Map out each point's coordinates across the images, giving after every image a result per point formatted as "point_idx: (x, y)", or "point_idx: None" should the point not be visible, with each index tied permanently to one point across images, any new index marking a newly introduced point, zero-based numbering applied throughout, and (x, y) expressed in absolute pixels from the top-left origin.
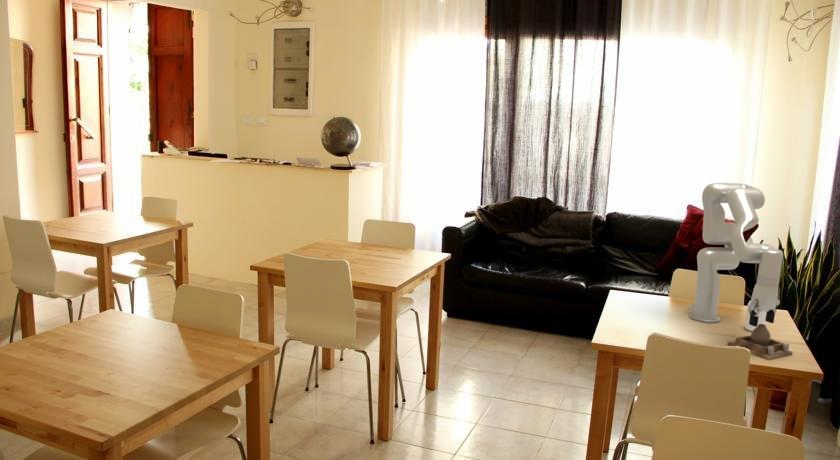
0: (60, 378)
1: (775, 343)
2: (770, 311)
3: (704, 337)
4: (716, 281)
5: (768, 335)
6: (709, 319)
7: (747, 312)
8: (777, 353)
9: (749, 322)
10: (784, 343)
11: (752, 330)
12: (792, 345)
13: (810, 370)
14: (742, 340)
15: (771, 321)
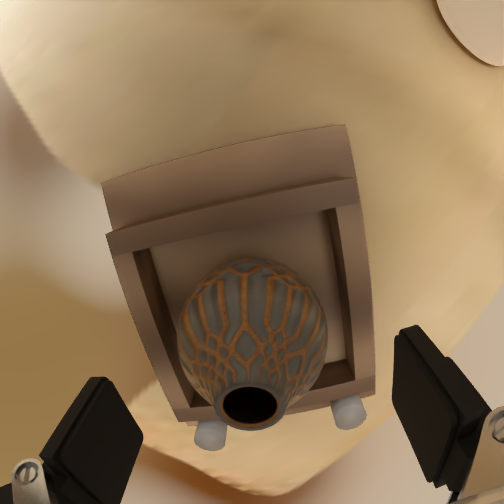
0: None
1: (350, 345)
2: (454, 470)
3: (79, 49)
4: None
5: (267, 408)
6: None
7: None
8: None
9: (86, 389)
10: (350, 411)
11: (450, 27)
12: (488, 266)
13: (279, 491)
14: (123, 287)
15: (397, 407)
